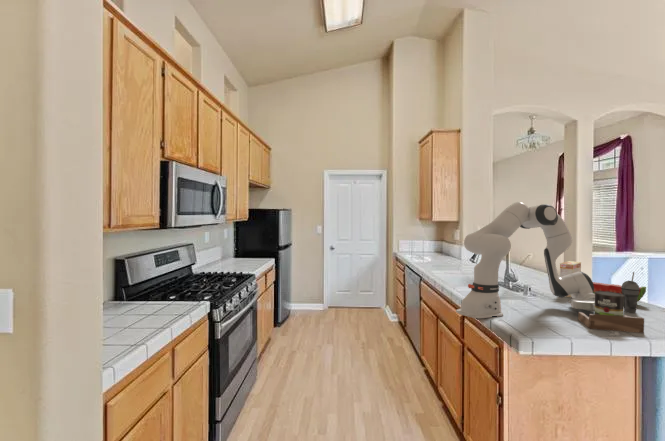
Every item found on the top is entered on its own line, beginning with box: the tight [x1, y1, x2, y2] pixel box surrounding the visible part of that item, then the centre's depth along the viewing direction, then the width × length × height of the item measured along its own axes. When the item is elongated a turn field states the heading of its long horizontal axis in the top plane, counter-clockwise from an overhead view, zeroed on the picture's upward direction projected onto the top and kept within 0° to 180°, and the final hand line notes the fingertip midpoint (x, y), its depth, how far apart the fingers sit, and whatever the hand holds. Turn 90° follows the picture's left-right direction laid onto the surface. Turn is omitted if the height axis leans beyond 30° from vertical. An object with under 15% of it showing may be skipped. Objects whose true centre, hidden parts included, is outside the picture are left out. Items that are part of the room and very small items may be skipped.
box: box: [577, 311, 645, 334], centre depth 159 cm, size 14×19×6 cm
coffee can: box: [593, 291, 624, 316], centre depth 160 cm, size 10×10×14 cm
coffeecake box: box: [559, 260, 582, 298], centre depth 218 cm, size 15×7×20 cm, turn 130°
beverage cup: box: [621, 271, 640, 314], centre depth 181 cm, size 7×7×20 cm
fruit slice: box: [592, 281, 647, 303], centre depth 202 cm, size 26×6×10 cm, turn 45°
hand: (602, 309), depth 165 cm, fingers closed
